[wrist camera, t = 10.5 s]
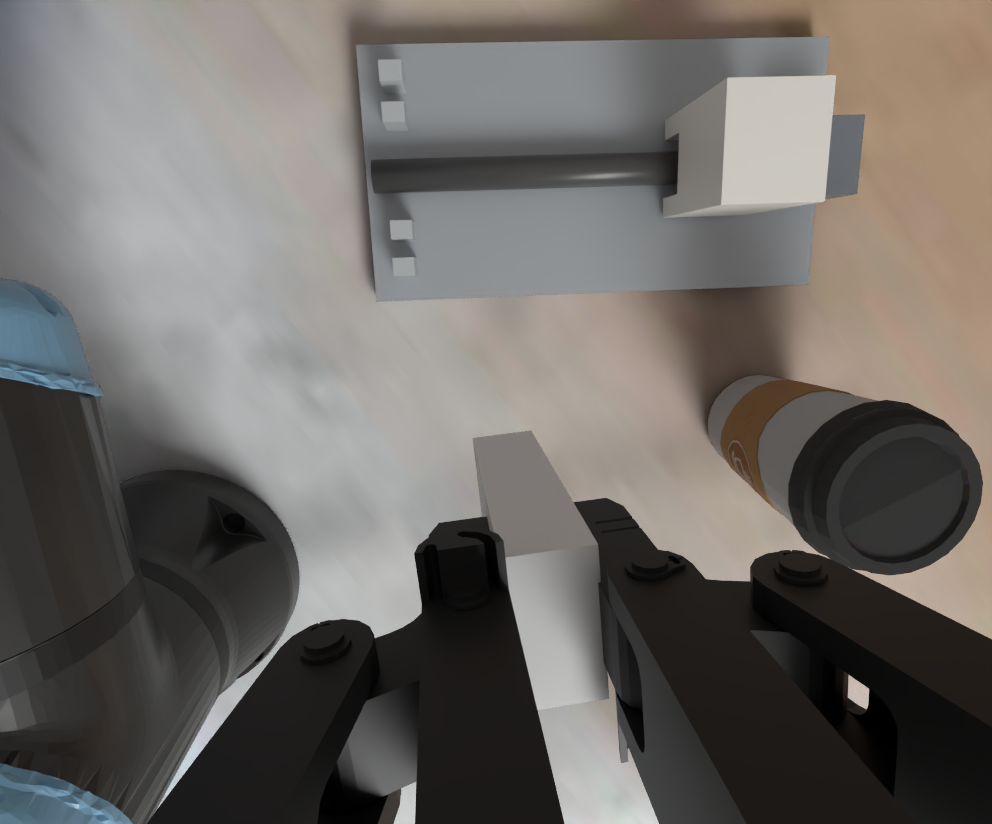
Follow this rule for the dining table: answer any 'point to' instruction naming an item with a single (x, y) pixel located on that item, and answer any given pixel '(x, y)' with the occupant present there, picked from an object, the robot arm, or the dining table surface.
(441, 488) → the dining table surface
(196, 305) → the dining table surface
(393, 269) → the sliding block rail
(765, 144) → the cream rail slider block
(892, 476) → the coffee cup
